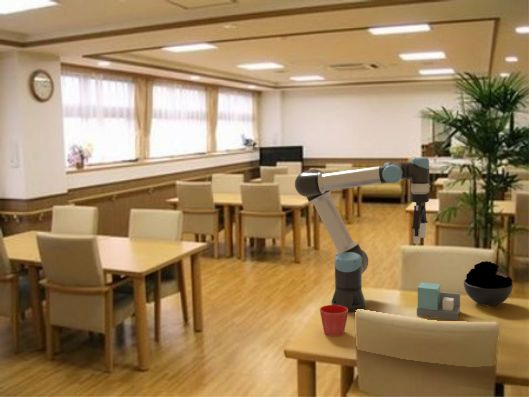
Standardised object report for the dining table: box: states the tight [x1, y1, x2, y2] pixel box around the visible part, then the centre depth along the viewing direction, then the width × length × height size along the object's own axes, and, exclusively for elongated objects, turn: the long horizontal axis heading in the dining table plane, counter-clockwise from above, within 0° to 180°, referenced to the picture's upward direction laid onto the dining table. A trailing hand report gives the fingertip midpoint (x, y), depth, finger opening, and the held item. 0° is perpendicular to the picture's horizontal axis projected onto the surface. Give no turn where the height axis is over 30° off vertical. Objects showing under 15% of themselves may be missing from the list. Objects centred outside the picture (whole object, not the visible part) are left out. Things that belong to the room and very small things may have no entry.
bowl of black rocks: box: [463, 260, 514, 307], centre depth 239 cm, size 20×20×19 cm
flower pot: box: [319, 304, 349, 337], centre depth 212 cm, size 11×11×10 cm
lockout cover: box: [417, 282, 441, 310], centre depth 230 cm, size 8×8×9 cm
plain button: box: [443, 297, 454, 311], centre depth 228 cm, size 4×4×5 cm
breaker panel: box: [416, 290, 461, 321], centre depth 230 cm, size 16×12×8 cm
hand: (419, 240), depth 241 cm, fingers open, 13 cm apart
